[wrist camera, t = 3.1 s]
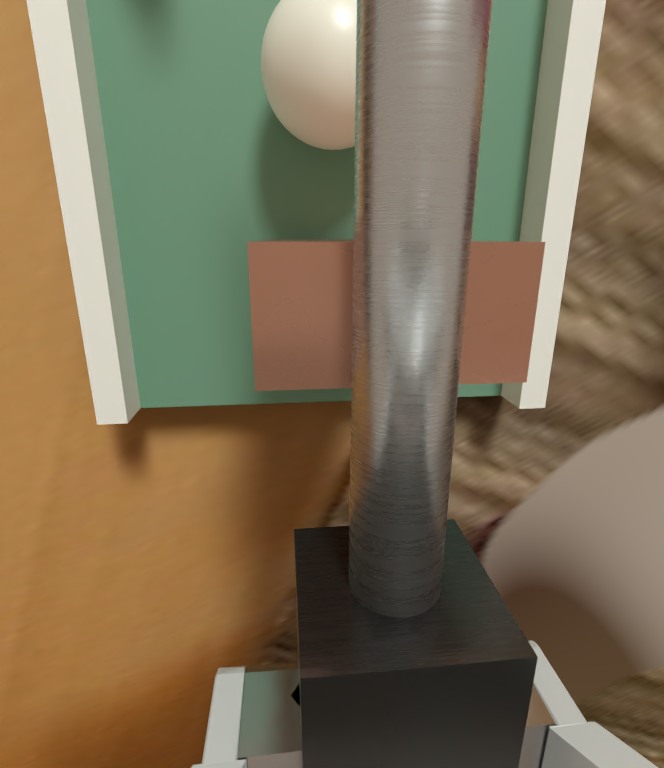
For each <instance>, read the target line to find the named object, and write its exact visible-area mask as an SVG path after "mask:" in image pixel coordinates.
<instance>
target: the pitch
mask: <svg viewBox="0 0 664 768" xmlns="http://www.w3.org/2000/svg"><path fill="white" fill-rule="evenodd" d="M279 2H280V0H27V6H28V12H29V18H30V24H31V30H32V36H33V42H34V48H35V54H36V60H37V66H38V72H39V78H40V84H41V90H42V96H43V102H44V108H45V114H46V120H47V126H48V132H49V138H50V144H51V150H52V156H53V162H54V168H55V174H56V180H57V186H58V192H59V198H60V204H61V210H62V216H63V222H64V228H65V234H66V240H67V246H68V252H69V258H70V264H71V270H72V276H73V282H74V288H75V294H76V300H77V306H78V312H79V318H80V324H81V330H82V336H83V342H84V348H85V354H86V360H87V366H88V372H89V378H90V384H91V390H92V396H93V402H94V408H95V414H96V420H97V425H98V424H125V423H129V421H130V420H131V419H132V418H133V417H134V415H135V414H136V413H137V412H138V411H139V409H140V408H155V407H184V406H213V405H242V404H271V403H300V402H329V401H351V388H334V389H303V390H271V391H255V380H254V361H253V343H252V324H251V305H250V286H249V267H248V248H247V242H251V241H259V240H267V239H354V167H355V146H353V147H351V148H346V149H341V150H327V149H321V148H317V147H314V146H311V145H309V144H306V143H304V142H303V141H301V140H299V139H298V138H296V137H295V136H294V135H292V134H291V133H290V132H289V131H288V130H287V129H286V128H285V127H284V126H283V125H282V123H281V122H280V121H279V120H278V118H277V117H276V115H275V113H274V112H273V110H272V108H271V106H270V104H269V101H268V99H267V96H266V93H265V90H264V86H263V81H262V75H261V48H262V41H263V37H264V33H265V29H266V27H267V24H268V21H269V19H270V17H271V15H272V13H273V11H274V9H275V7H276V6H277V4H278V3H279ZM605 4H606V0H493V2H492V14H491V25H490V36H489V48H488V59H487V70H486V82H485V93H484V104H483V116H482V127H481V138H480V150H479V161H478V172H477V184H476V195H475V206H474V218H473V229H472V241H522V242H545V250H544V257H543V264H542V272H541V279H540V287H539V294H538V301H537V309H536V316H535V324H534V331H533V339H532V346H531V353H530V361H529V368H528V376H527V382H524V383H492V384H461V385H459V388H458V397H474V396H502V397H504V398H505V399H506V400H508V401H509V402H511V403H512V404H513V405H515V406H516V407H518V408H519V409H526V408H545V403H546V397H547V390H548V383H549V377H550V370H551V363H552V357H553V350H554V343H555V337H556V330H557V324H558V317H559V310H560V304H561V297H562V290H563V284H564V277H565V270H566V264H567V257H568V250H569V244H570V237H571V230H572V224H573V217H574V210H575V204H576V197H577V190H578V184H579V177H580V170H581V164H582V157H583V150H584V144H585V137H586V130H587V124H588V117H589V110H590V104H591V97H592V90H593V84H594V77H595V70H596V64H597V57H598V50H599V44H600V37H601V31H602V24H603V17H604V11H605Z"/></svg>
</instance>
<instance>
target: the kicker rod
mask: <svg viewBox="0 0 664 768" xmlns="http://www.w3.org/2000/svg"><path fill="white" fill-rule="evenodd" d="M492 2H493V0H357V24H356V96H355V167H354V239H267V240H259V241H251V242H247V248H248V267H249V286H250V305H251V324H252V343H253V361H254V380H255V391H271V390H303V389H334V388H351V454H350V526H337V527H321V528H305V529H294V538H295V573H296V609H297V644H298V666H299V695H300V718H301V745H302V768H518V767H519V761H520V756H521V750H522V744H523V739H524V733H525V727H526V722H527V716H528V710H529V705H530V699H531V693H532V687H533V682H534V676H535V670H536V665H537V659H538V656H537V655H536V653H535V652H534V650H533V648H532V647H531V645H530V643H529V642H528V640H527V638H526V637H525V635H524V633H523V632H522V630H521V629H520V627H519V625H518V624H517V622H516V620H515V619H514V617H513V615H512V614H511V612H510V610H509V609H508V607H507V606H506V604H505V602H504V601H503V599H502V597H501V596H500V594H499V592H498V591H497V589H496V588H495V586H494V584H493V583H492V581H491V579H490V578H489V576H488V574H487V573H486V571H485V569H484V568H483V566H482V564H481V563H480V561H479V560H478V558H477V556H476V555H475V553H474V551H473V550H472V548H471V546H470V545H469V543H468V541H467V540H466V538H465V537H464V535H463V533H462V532H461V530H460V528H459V527H458V525H457V523H456V522H455V520H454V519H452V520H447V513H448V501H449V490H450V479H451V467H452V456H453V445H454V433H455V422H456V411H457V399H458V388H459V385H461V384H492V383H524V382H527V376H528V368H529V361H530V353H531V346H532V339H533V331H534V324H535V316H536V309H537V301H538V294H539V287H540V279H541V272H542V264H543V257H544V250H545V242H522V241H472V229H473V218H474V206H475V195H476V184H477V172H478V161H479V150H480V138H481V127H482V116H483V104H484V93H485V82H486V70H487V59H488V48H489V36H490V25H491V14H492Z"/></svg>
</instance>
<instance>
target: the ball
mask: <svg viewBox="0 0 664 768" xmlns="http://www.w3.org/2000/svg"><path fill="white" fill-rule="evenodd" d="M356 24H357V0H280V2H279V3H278V4H277V6H276V7H275V9H274V11H273V13H272V15H271V17H270V19H269V21H268V24H267V27H266V29H265V33H264V37H263V41H262V48H261V75H262V81H263V86H264V90H265V93H266V96H267V99H268V101H269V104H270V106H271V108H272V110H273V112H274V113H275V115H276V117H277V118H278V120H279V121H280V122H281V123H282V125H283V126H284V127H285V128H286V129H287V130H288V131H289V132H290V133H291V134H292V135H294V136H295V137H296V138H298V139H299V140H301V141H303V142H304V143H306V144H309V145H311V146H314V147H317V148H321V149H327V150H341V149H346V148H351V147H353V146H355V96H356Z"/></svg>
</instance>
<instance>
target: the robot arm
mask: <svg viewBox="0 0 664 768" xmlns="http://www.w3.org/2000/svg"><path fill="white" fill-rule="evenodd" d="M528 642H529V643H530V645H531V647H532V648H533V650H534V652H535V653H536V655H537V656H538V659H537V665H536V670H535V676H534V682H533V687H532V693H531V699H530V705H529V710H528V716H527V722H526V727H525V733H524V739H523V744H522V750H521V756H520V761H519V767H518V768H658V767H657V766H655V765H654V764H652V763H651V762H650V761H648V760H647V759H646V758H644V757H643V756H641V755H640V754H639V753H637V752H636V751H635V750H633V749H632V748H631V747H629V746H628V745H626V744H625V743H624V742H622V741H621V740H620V739H618V738H617V737H615V736H614V735H613V734H611V733H610V732H609V731H607V730H606V729H604V728H603V727H602V726H600V725H599V724H598V723H596V722H587V721H586V720H585V718H584V717H583V715H582V714H581V712H580V710H579V709H578V707H577V706H576V704H575V703H574V701H573V699H572V698H571V696H570V695H569V693H568V692H567V690H566V688H565V687H564V685H563V684H562V682H561V681H560V679H559V677H558V676H557V674H556V673H555V671H554V670H553V668H552V666H551V665H550V663H549V662H548V660H547V659H546V657H545V655H544V654H543V652H542V651H541V649H540V648H539V646H538V645H537V644H536V643H535V642H534V641H528ZM191 768H302V745H301V718H300V695H299V666H298V663H283V664H266V665H250V666H239V667H225V668H218V671H217V673H216V676H215V682H214V688H213V694H212V701H211V707H210V714H209V720H208V727H207V733H206V740H205V746H204V753H203V759H202V764H195V765H192V767H191Z"/></svg>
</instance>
